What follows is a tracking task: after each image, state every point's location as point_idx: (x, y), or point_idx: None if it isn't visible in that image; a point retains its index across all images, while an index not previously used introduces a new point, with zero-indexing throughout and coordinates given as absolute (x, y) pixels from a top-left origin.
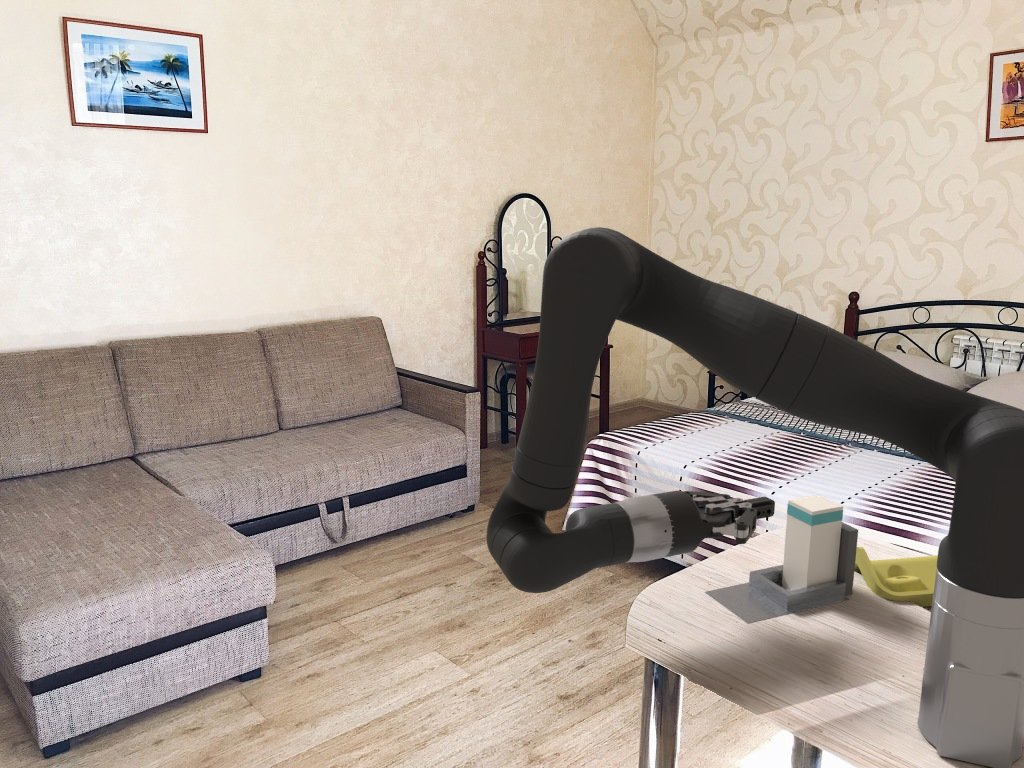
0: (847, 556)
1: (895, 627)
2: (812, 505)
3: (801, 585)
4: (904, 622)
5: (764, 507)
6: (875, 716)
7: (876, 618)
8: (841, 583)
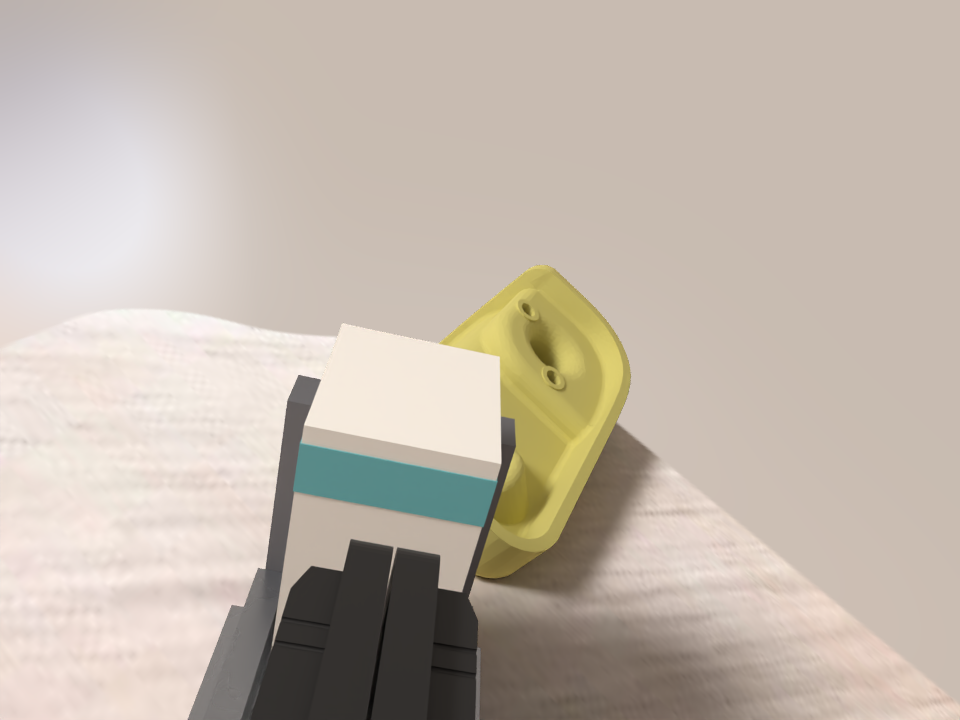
0: (489, 528)
1: (609, 652)
2: (430, 411)
3: None
4: (591, 611)
5: (475, 685)
6: None
7: (546, 649)
8: None
